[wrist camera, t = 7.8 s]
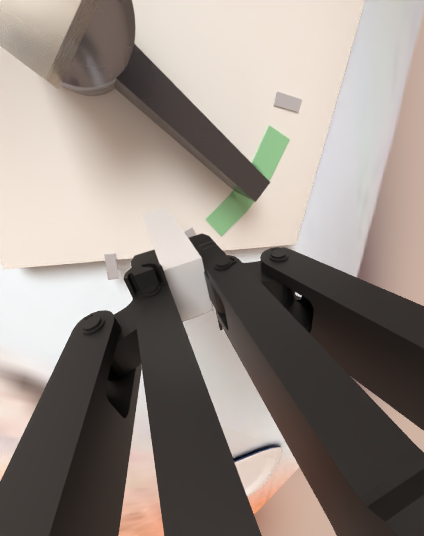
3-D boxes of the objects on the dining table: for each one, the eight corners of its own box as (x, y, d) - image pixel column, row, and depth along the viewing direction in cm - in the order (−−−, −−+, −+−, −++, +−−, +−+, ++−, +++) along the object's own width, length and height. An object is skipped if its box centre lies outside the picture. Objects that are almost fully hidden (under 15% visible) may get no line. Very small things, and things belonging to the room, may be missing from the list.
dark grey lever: (-5, 42, 10) (-97, -27, 5) (45, -85, 9) (-19, -297, 4) (220, 210, 17) (257, 238, 13) (261, 152, 16) (317, 161, 12)
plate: (286, 432, 51) (291, 440, 50) (260, 482, 63) (263, 490, 62) (173, 477, 42) (175, 488, 40) (167, 526, 54) (169, 536, 52)
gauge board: (-177, -243, 7) (-242, -326, 6) (350, -13, 15) (374, -27, 13) (19, 277, 16) (11, 290, 15) (282, 252, 24) (292, 259, 22)
